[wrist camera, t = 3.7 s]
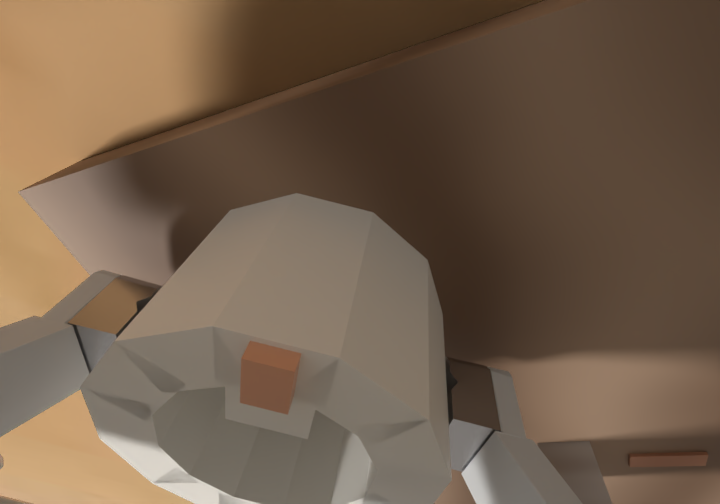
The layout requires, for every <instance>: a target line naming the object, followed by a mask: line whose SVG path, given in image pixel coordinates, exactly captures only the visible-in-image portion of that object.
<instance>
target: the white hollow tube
mask: <svg viewBox="0 0 720 504" xmlns="http://www.w3.org/2000/svg"><path fill="white" fill-rule="evenodd" d="M80 389H81V392H82V394H83V397H84V399H85V402H86V404H87V407H88V410H89V412H90V415H91V417H92V420H93V422H94V425H95V427H96V430H97V433H98V435H99V438H100V439H101V440H102V441H103V442H104V443H105V444H107V445H108V446H109V447H110V448H111V449H112V450H114V451H115V452H116V453H117V454H118V455H120V456H121V457H122V458H123V459H124V460H125V461H127V462H128V463H129V464H130V465H131V466H132V467H134V468H135V469H136V470H137V471H138V472H139V473H141V474H142V475H143V476H144V477H145V478H147V479H148V480H149V481H150V482H151V483H153V484H155V485H157V486H159V487H161V488H163V489H165V490H167V491H169V492H172V493H174V494H176V495H178V496H180V497H182V498H184V499H186V500H188V501H191V502H193V503H195V504H434V502H435V501H436V500H437V499H438V497H439V496H440V495H441V493H442V492H443V491H444V490H445V488H446V487H447V486H448V484H449V483H450V482H451V480H452V474H451V456H450V438H449V420H448V402H447V383H446V365H445V347H444V329H443V313H442V310H441V306H440V302H439V299H438V295H437V292H436V288H435V284H434V281H433V277H432V274H431V270H430V266H429V263H428V260H427V259H426V258H425V257H424V256H423V255H422V254H420V253H419V252H418V251H417V250H416V249H415V248H414V247H412V246H411V245H410V244H409V243H408V242H407V241H406V240H404V239H403V238H402V237H401V236H400V235H399V234H398V233H396V232H395V231H394V230H393V229H392V228H391V227H390V226H388V225H387V224H386V223H385V222H384V221H383V220H382V219H380V218H379V217H378V216H377V215H376V214H375V213H374V212H370V211H366V210H362V209H358V208H354V207H350V206H346V205H342V204H338V203H334V202H330V201H326V200H322V199H318V198H314V197H310V196H307V195H303V194H299V193H295V194H291V195H287V196H283V197H279V198H275V199H271V200H267V201H264V202H260V203H256V204H252V205H248V206H244V207H240V208H236V209H232V210H230V211H229V212H228V213H227V214H226V215H225V216H224V218H223V219H222V220H221V221H220V222H219V223H218V224H217V225H216V227H215V228H214V229H213V230H212V231H211V232H210V233H209V235H208V236H207V237H206V238H205V239H204V240H203V241H202V242H201V244H200V245H199V246H198V247H197V248H196V249H195V250H194V251H193V253H192V254H191V255H190V256H189V257H188V258H187V259H186V261H185V262H184V263H183V264H182V265H181V266H180V267H179V268H178V270H177V271H176V272H175V273H174V274H173V275H172V276H171V278H170V279H169V280H168V281H167V282H166V283H165V284H164V285H163V287H162V288H161V289H160V290H159V291H158V292H157V293H156V294H155V296H154V297H153V298H152V299H151V300H150V301H149V302H148V304H147V305H146V306H145V307H144V308H143V309H142V310H141V311H140V313H139V314H138V315H137V316H136V317H135V318H134V319H133V320H132V322H131V323H130V324H129V325H128V326H127V327H126V328H125V330H124V331H123V332H122V333H121V334H120V335H119V336H118V337H117V339H116V340H115V341H114V342H113V343H112V345H111V346H110V347H109V349H108V350H107V351H106V353H105V354H104V355H103V357H102V358H101V359H100V361H99V362H98V363H97V365H96V366H95V367H94V369H93V370H92V371H91V373H90V374H89V375H88V377H87V378H86V379H85V381H84V382H83V383H82V385H81V386H80Z"/></svg>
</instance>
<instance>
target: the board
mask: <svg viewBox="0 0 720 504" xmlns="http://www.w3.org/2000/svg"><path fill="white" fill-rule="evenodd" d="M18 193H19V194H20V195H21V196H22V197H23V198H24V200H25V201H26V202H27V203H28V204H29V205H30V206H31V208H32V209H33V210H34V211H35V212H36V213H37V215H38V216H39V217H40V218H41V219H42V220H43V222H44V223H45V224H46V225H47V226H48V227H49V228H50V230H51V231H52V232H53V233H54V234H55V235H56V237H57V238H58V239H59V240H60V241H61V242H62V244H63V245H64V246H65V247H66V248H67V249H68V250H69V252H70V253H71V254H72V255H73V256H74V257H75V259H76V260H77V261H78V262H79V263H80V264H81V266H82V267H83V268H84V269H85V270H86V271H87V272H88V274H89V275H90V276H91V275H92V274H93V273H94V272H97V271H100V270H105V271H109V272H112V273H116V274H120V275H124V276H128V277H132V278H135V279H139V280H143V281H146V282H150V283H153V284H157V285H161V286H163V285H164V284H165V283H166V282H167V281H168V280H169V279H170V278H171V276H172V275H173V274H174V273H175V272H176V271H177V270H178V268H179V267H180V266H181V265H182V264H183V263H184V262H185V261H186V259H187V258H188V257H189V256H190V255H191V254H192V253H193V251H194V250H195V249H196V248H197V247H198V246H199V245H200V244H201V242H202V241H203V240H204V239H205V238H206V237H207V236H208V235H209V233H210V232H211V231H212V230H213V229H214V228H215V227H216V225H217V224H218V223H219V222H220V221H221V220H222V219H223V218H224V216H225V215H226V214H227V213H228V212H229V211H230V210H232V209H236V208H240V207H244V206H248V205H252V204H256V203H260V202H264V201H267V200H271V199H275V198H279V197H283V196H287V195H291V194H295V193H299V194H303V195H307V196H310V197H314V198H318V199H322V200H326V201H330V202H334V203H338V204H342V205H346V206H350V207H354V208H358V209H362V210H366V211H370V212H374V213H375V214H376V215H377V216H378V217H379V218H380V219H382V220H383V221H384V222H385V223H386V224H387V225H388V226H390V227H391V228H392V229H393V230H394V231H395V232H396V233H398V234H399V235H400V236H401V237H402V238H403V239H404V240H406V241H407V242H408V243H409V244H410V245H411V246H412V247H414V248H415V249H416V250H417V251H418V252H419V253H420V254H422V255H423V256H424V257H425V258H426V259H427V260H428V263H429V266H430V270H431V274H432V277H433V281H434V284H435V288H436V292H437V295H438V299H439V302H440V306H441V310H442V313H443V329H444V347H445V357H451V358H455V359H459V360H463V361H467V362H472V363H476V364H480V365H484V366H486V367H492V368H496V369H500V370H504V371H508V372H509V373H510V374H511V376H512V379H513V383H514V388H515V392H516V396H517V400H518V405H519V409H520V413H521V417H522V422H523V426H524V430H525V434H526V438H527V439H530V440H533V441H534V442H535V443H536V445H537V446H538V447H539V448H540V450H541V451H542V452H543V454H544V455H545V456H546V457H547V459H548V460H549V461H550V463H551V464H552V465H553V466H554V468H555V469H556V470H557V471H558V473H559V474H560V475H561V477H562V478H563V479H564V480H565V482H566V483H567V484H568V486H569V487H570V488H571V489H572V491H573V492H574V493H575V494H576V496H577V497H578V498H579V500H580V501H581V502H582V503H583V504H720V0H544V1H542V2H539V3H536V4H533V5H530V6H527V7H524V8H521V9H518V10H516V11H513V12H510V13H507V14H504V15H501V16H498V17H495V18H492V19H490V20H487V21H484V22H481V23H478V24H475V25H472V26H469V27H466V28H464V29H461V30H458V31H455V32H452V33H449V34H446V35H443V36H440V37H438V38H435V39H432V40H429V41H426V42H423V43H420V44H417V45H414V46H412V47H409V48H406V49H403V50H400V51H397V52H394V53H391V54H388V55H386V56H383V57H380V58H377V59H374V60H371V61H368V62H365V63H362V64H360V65H357V66H354V67H351V68H348V69H345V70H342V71H339V72H336V73H334V74H331V75H328V76H325V77H322V78H319V79H316V80H313V81H310V82H308V83H305V84H302V85H299V86H296V87H293V88H290V89H287V90H284V91H282V92H279V93H276V94H273V95H270V96H267V97H264V98H261V99H258V100H256V101H253V102H250V103H247V104H244V105H241V106H238V107H235V108H232V109H230V110H227V111H224V112H221V113H218V114H215V115H212V116H209V117H206V118H204V119H201V120H198V121H195V122H192V123H189V124H186V125H183V126H180V127H178V128H175V129H172V130H169V131H166V132H163V133H160V134H157V135H154V136H152V137H149V138H146V139H143V140H140V141H137V142H134V143H131V144H128V145H126V146H123V147H120V148H117V149H114V150H111V151H108V152H105V153H102V154H100V155H97V156H94V157H91V158H88V159H85V160H82V161H79V162H77V163H75V164H73V165H71V166H69V167H67V168H65V169H63V170H61V171H59V172H57V173H55V174H53V175H51V176H49V177H47V178H45V179H43V180H41V181H39V182H37V183H35V184H33V185H31V186H29V187H27V188H25V189H23V190H21V191H19V192H18ZM461 473H462V472H461V471H457V470H453V469H451V474H452V480H451V482H450V483H449V484H448V486H447V487H446V488H445V490H444V491H443V492H442V493H441V495H440V496H439V497H438V499H437V500H436V501H435V502H434V504H476V502H475V500H474V498H473V496H472V494H471V492H470V490H469V488H468V486H467V484H466V482H465V480H464V478H463V476H462V474H461Z"/></svg>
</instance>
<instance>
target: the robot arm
mask: <svg viewBox="0 0 720 504" xmlns="http://www.w3.org/2000/svg"><path fill="white" fill-rule="evenodd" d="M162 287H163V286H161V285H157V284H153V283H150V282H146V281H143V280H139V279H135V278H132V277H128V276H124V275H120V274H116V273H112V272H109V271H105V270H100V271H97V272H94V273H93V274H92V275H91V276H89V277H88V278H87V279H86V280H85V281H84V282H82V283H81V284H80V285H79V286H78V287H76V288H75V289H74V290H73V291H72V292H71V293H69V294H68V295H67V296H66V297H65V298H64V299H62V300H61V301H60V302H59V303H58V304H56V305H55V306H54V307H53V308H52V309H51V310H49V311H48V312H47V313H46V314H45V315H43V316H42V317H38V316H33V317H30V318H27V319H24V320H21V321H18V322H15V323H12V324H10V325H7V326H4V327H1V328H0V437H1V436H3V435H4V434H6V433H8V432H9V431H11V430H13V429H14V428H16V427H18V426H20V425H21V424H23V423H25V422H26V421H28V420H30V419H31V418H33V417H35V416H36V415H38V414H40V413H41V412H43V411H45V410H46V409H48V408H50V407H51V406H53V405H55V404H56V403H58V402H60V401H61V400H63V399H65V398H67V397H68V396H70V395H72V394H73V393H75V392H77V391H78V390H80V386H81V385H82V383H83V382H84V381H85V379H86V378H87V377H88V375H89V374H90V373H91V371H92V370H93V369H94V367H95V366H96V365H97V363H98V362H99V361H100V359H101V358H102V357H103V355H104V354H105V353H106V351H107V350H108V349H109V347H110V346H111V345H112V343H113V342H114V341H115V340H116V339H117V337H118V336H119V335H120V334H121V333H122V332H123V331H124V330H125V328H126V327H127V326H128V325H129V324H130V323H131V322H132V320H133V319H134V318H135V317H136V316H137V315H138V314H139V313H140V311H141V310H142V309H143V308H144V307H145V306H146V305H147V304H148V302H149V301H150V300H151V299H152V298H153V297H154V296H155V294H156V293H157V292H158V291H159V290H160V289H161V288H162ZM445 365H446V383H447V402H448V420H449V438H450V456H451V469H453V470H457V471H461V472H462V473H461V474H462V476H463V478H464V480H465V482H466V484H467V486H468V488H469V490H470V492H471V494H472V496H473V498H474V500H475V502H476V504H583V503H582V502H581V501H580V500H579V498H578V497H577V496H576V494H575V493H574V492H573V491H572V489H571V488H570V487H569V486H568V484H567V483H566V482H565V480H564V479H563V478H562V477H561V475H560V474H559V473H558V471H557V470H556V469H555V468H554V466H553V465H552V464H551V463H550V461H549V460H548V459H547V457H546V456H545V455H544V454H543V452H542V451H541V450H540V448H539V447H538V446H537V445H536V443H535V442H534V441H533V440H530V439H527V438H526V434H525V430H524V426H523V422H522V417H521V413H520V409H519V405H518V400H517V396H516V392H515V388H514V383H513V379H512V376H511V374H510V373H509V372H508V371H504V370H500V369H496V368H492V367H486V366H484V365H480V364H476V363H472V362H467V361H463V360H459V359H455V358H451V357H445ZM2 467H3V457H2V456H1V454H0V469H1V468H2ZM0 504H32V503H28V502H24V501H20V500H16V499H12V498H8V497H4V496H0Z"/></svg>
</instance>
